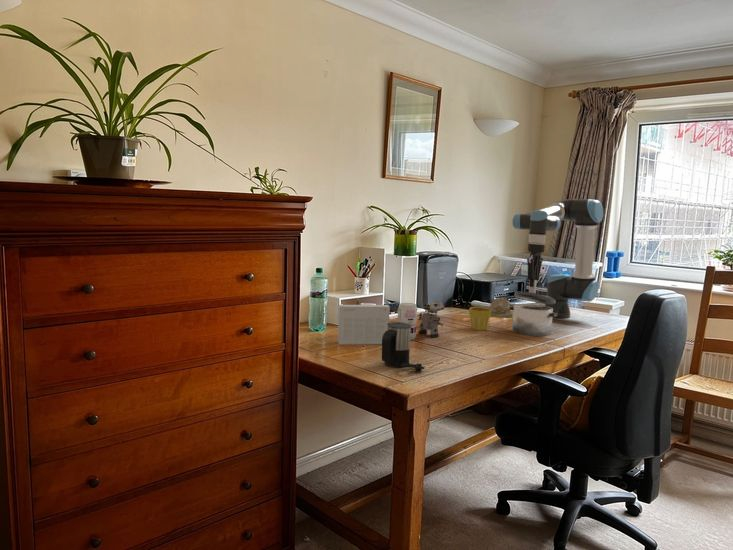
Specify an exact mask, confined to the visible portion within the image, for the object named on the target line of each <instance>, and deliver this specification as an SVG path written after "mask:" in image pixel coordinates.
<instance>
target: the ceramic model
mask: <svg viewBox="0 0 733 550" xmlns="http://www.w3.org/2000/svg"><path fill="white" fill-rule="evenodd" d="M511 303H512V302H510V301H509V300H508V299H505V298H503V297H500V298H495V299H494V300H493V301H492V302H490V306H489V309H491V317H495V318H496V317H497V318H504V319H505V318H507V319H510V318H512V319H513V312H514V311H512V310H510V306H512V304H511ZM511 311H512V312H511Z"/></svg>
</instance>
